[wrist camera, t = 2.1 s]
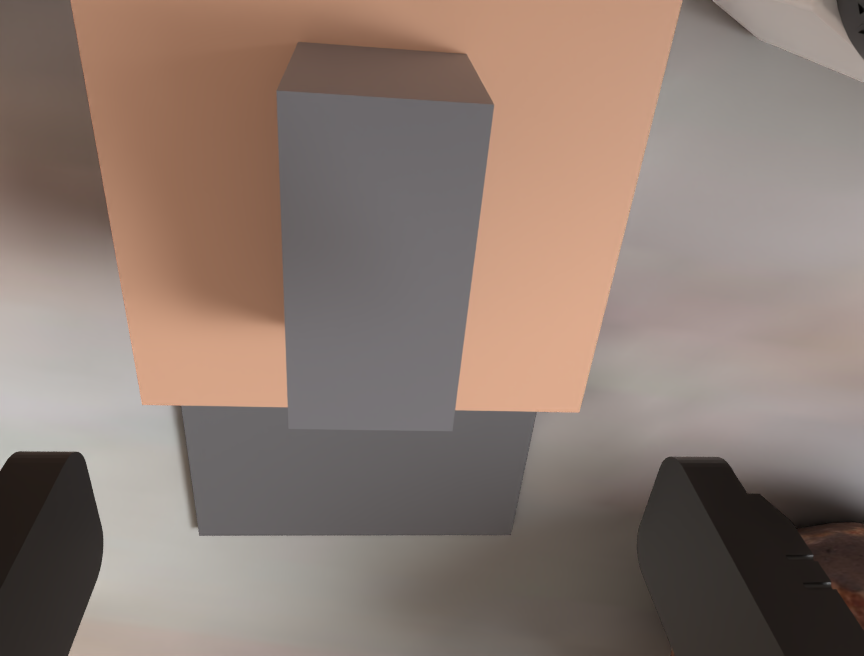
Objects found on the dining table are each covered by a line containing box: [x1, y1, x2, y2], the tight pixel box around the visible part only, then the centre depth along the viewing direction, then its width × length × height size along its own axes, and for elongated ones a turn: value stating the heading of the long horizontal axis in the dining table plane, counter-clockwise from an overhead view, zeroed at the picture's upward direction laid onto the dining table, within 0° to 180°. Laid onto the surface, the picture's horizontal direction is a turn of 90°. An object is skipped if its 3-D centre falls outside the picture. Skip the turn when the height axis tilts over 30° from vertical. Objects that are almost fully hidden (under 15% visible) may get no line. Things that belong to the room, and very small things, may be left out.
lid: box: [70, 0, 683, 431], centre depth 18 cm, size 14×14×7 cm
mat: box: [181, 406, 536, 536], centre depth 35 cm, size 17×15×1 cm
